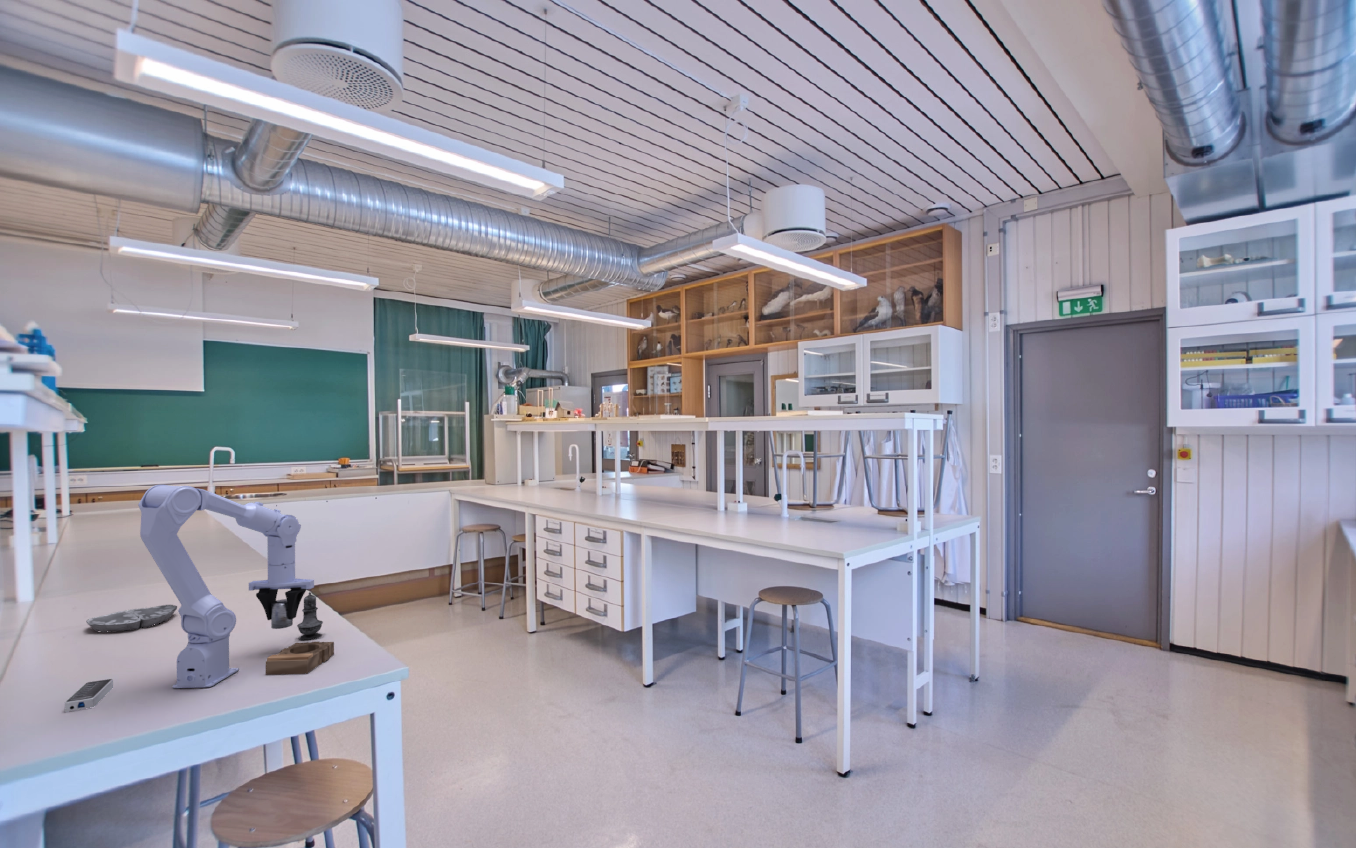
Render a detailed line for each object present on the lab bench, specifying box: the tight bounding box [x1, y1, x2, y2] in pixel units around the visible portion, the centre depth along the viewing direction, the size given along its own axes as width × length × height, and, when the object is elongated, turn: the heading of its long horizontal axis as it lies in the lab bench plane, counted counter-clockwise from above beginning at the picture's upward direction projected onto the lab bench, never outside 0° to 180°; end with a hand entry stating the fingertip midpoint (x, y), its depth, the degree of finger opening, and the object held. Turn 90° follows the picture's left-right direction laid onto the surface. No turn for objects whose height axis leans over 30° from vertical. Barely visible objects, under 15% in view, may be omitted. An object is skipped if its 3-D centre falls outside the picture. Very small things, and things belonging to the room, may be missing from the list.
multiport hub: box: [64, 678, 114, 713], centre depth 127 cm, size 4×11×2 cm, turn 27°
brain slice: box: [86, 604, 178, 633], centre depth 176 cm, size 20×17×3 cm
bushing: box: [270, 598, 294, 630], centre depth 153 cm, size 4×4×6 cm
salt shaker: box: [296, 591, 324, 642], centre depth 164 cm, size 6×6×12 cm
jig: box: [265, 640, 335, 676], centre depth 145 cm, size 12×10×4 cm
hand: (281, 618), depth 153 cm, fingers closed on bushing, 4 cm apart
